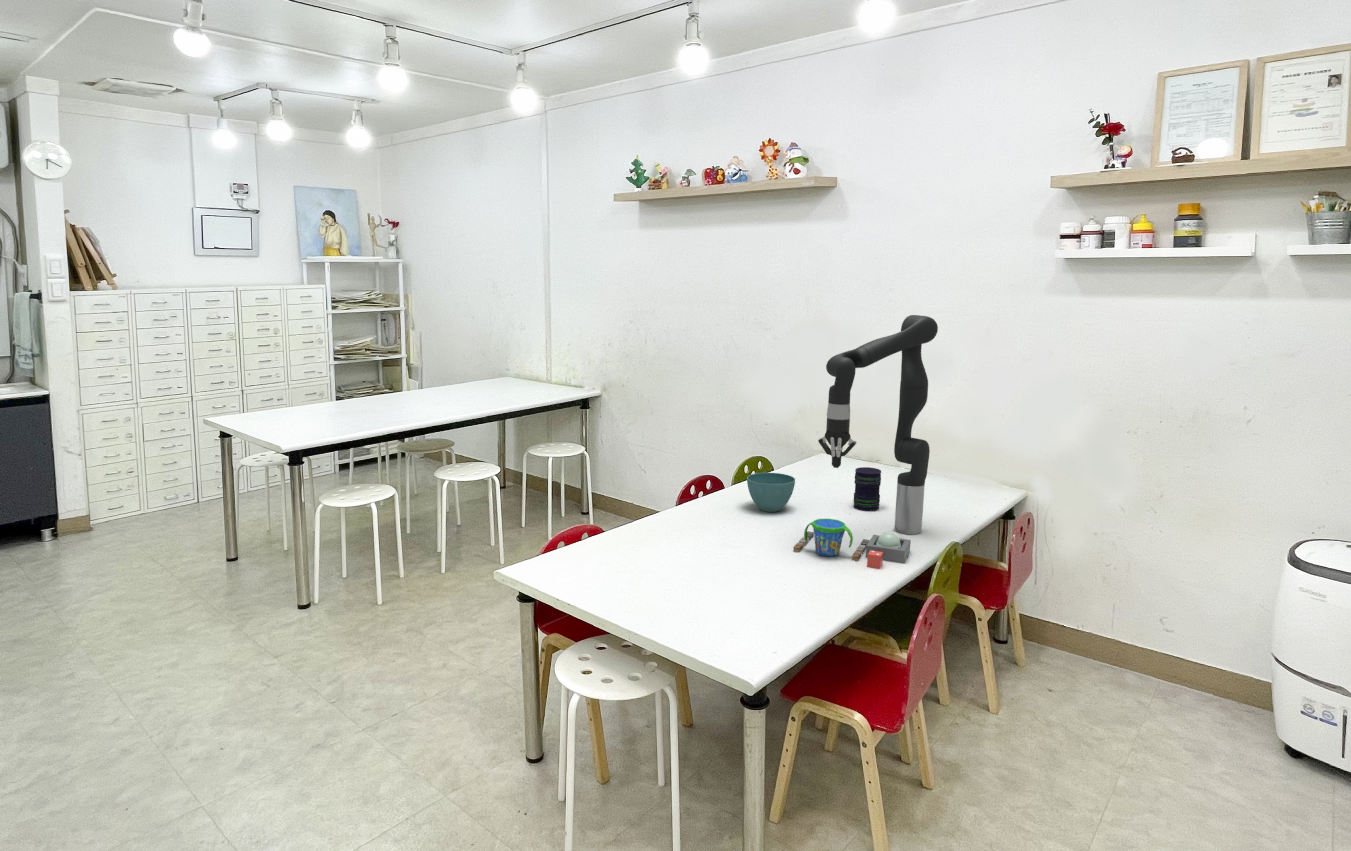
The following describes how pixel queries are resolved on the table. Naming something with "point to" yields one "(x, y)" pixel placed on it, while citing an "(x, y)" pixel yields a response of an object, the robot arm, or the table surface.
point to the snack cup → (828, 536)
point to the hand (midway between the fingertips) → (836, 467)
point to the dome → (889, 540)
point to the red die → (874, 559)
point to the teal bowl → (770, 490)
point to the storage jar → (867, 489)
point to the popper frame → (890, 550)
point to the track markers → (803, 542)
